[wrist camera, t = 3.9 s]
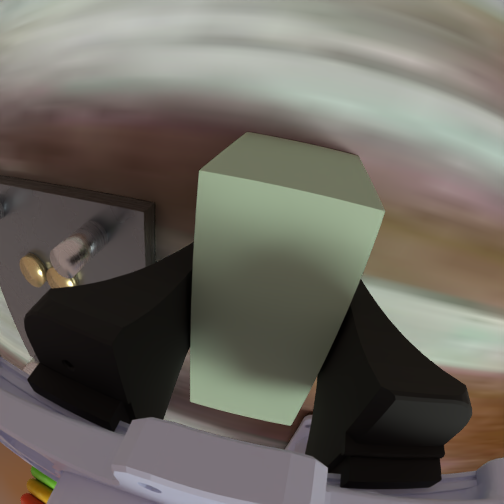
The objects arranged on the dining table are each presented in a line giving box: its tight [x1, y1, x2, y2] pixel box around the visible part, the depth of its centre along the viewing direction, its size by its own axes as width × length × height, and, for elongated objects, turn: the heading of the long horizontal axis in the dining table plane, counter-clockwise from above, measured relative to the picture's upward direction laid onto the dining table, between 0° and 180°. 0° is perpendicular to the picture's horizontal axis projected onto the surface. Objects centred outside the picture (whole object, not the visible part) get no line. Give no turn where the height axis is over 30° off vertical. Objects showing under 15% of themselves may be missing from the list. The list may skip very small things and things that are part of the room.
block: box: [190, 132, 385, 426], centre depth 11 cm, size 9×4×5 cm, turn 172°
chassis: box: [0, 175, 155, 375], centre depth 16 cm, size 16×13×4 cm
